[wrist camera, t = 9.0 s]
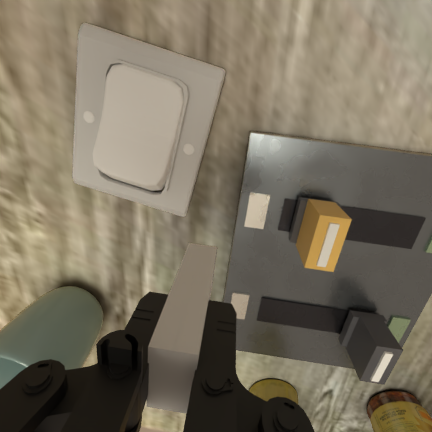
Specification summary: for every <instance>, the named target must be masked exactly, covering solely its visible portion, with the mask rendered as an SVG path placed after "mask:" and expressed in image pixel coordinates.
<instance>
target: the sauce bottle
mask: <svg viewBox="0 0 432 432" xmlns="http://www.w3.org/2000/svg"><path fill="white" fill-rule="evenodd" d="M367 413H368V416H369V418H370V421H371V424H372V428H373V430H374V432H432V419H431V417H430V415H429V414H428V412H427V411H426V410H425V409H424V408H423V407H422V405H421V404H420V402H419V401H418V400H417V399H416V398H415V397H414V396H413V395H411V394H410V393H408V392H405V391H404V392H400V391H386V392H382V393H380V394H377V395H375V396H374V397H373V398H371V400H370V402H369V404H368V409H367Z"/></svg>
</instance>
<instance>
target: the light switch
mask: <svg viewBox="0 0 432 432" xmlns="http://www.w3.org/2000/svg"><path fill="white" fill-rule="evenodd" d="M224 78H225V70H224V69H223V68H220V67H217V66H214V65H211V64H208V63H205V62H202V61H199V60H196V59H193V58H190V57H187V56H184V55H181V54H178V53H175V52H173V51H170V50H167V49H164V48H161V47H158V46H155V45H152V44H149V43H146V42H143V41H140V40H137V39H134V38H131V37H128V36H125V35H122V34H119V33H116V32H113V31H110V30H107V29H104V28H101V27H98V26H95V25H92V24H89V23H82V25H81V27H80V30H79V33H78V48H77V73H76V97H75V122H74V146H73V171H72V178H73V180H74V182H75V183H76V184H79V185H82V186H85V187H88V188H92V189H95V190H98V191H101V192H104V193H108V194H111V195H114V196H117V197H120V198H124V199H127V200H130V201H133V202H136V203H140V204H143V205H146V206H149V207H153V208H156V209H159V210H162V211H165V212H169V213H172V214H175V215H178V216H181V217H185V216H186V214H187V211H188V207H189V204H190V200H191V197H192V193H193V189H194V186H195V182H196V179H197V175H198V172H199V168H200V164H201V161H202V157H203V154H204V150H205V147H206V143H207V139H208V136H209V132H210V129H211V125H212V121H213V118H214V114H215V111H216V107H217V103H218V100H219V96H220V93H221V89H222V85H223V82H224ZM107 175H108V176H107ZM110 177H111V178H110ZM112 178H113V179H112ZM164 186H165V189H164V190H163V192H154V191H155V190H162V189H163V187H164Z"/></svg>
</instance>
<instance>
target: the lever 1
mask: <svg viewBox="0 0 432 432" xmlns="http://www.w3.org/2000/svg"><path fill="white" fill-rule="evenodd" d="M351 221H352V219H351V218H350V217H349V216H348V215H347V214H346V213H345V212H344V211H343V210H342V209H341V205H340V204H339V203H338V202H333V201H325V200H318V199H311V198H303V197H299V198H298V202H297V206H296V210H295V214H294V217H293V221H292V225H291V229H290V233H289V237H288V238H289V241H290V242H292V243H296V247H297V250H298V252H299V255H300V258H301V260H302V263H303V265H304V268H309V269H316V270H323V271H330V272H334V269H335V266H336V263H337V261H338V258H339V255H340V252H341V249H342V246H343V243H344V241H345V238H346V235H347V232H348V229H349V226H350V223H351Z"/></svg>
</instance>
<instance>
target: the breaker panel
mask: <svg viewBox="0 0 432 432" xmlns="http://www.w3.org/2000/svg"><path fill="white" fill-rule="evenodd" d="M299 197H303V198H311V199H318V200H325V201H333V202H338V203H339V204H340V205H341V209H342V210H343V211H344V212H345V213H346V214H347V215H348V216H349V217H350V218H351V219H352V221H351V223H350V226H349V229H348V232H347V235H346V238H345V241H344V243H343V246H342V249H341V252H340V255H339V258H338V261H337V263H336V266H335V269H334V272H330V271H323V270H316V269H309V268H304V265H303V263H302V260H301V258H300V255H299V252H298V250H297V247H296V243H292V242H290V241H289V238H288V237H289V233H290V229H291V225H292V221H293V217H294V214H295V210H296V206H297V202H298V198H299ZM431 294H432V154H428V153H420V152H412V151H405V150H397V149H389V148H381V147H374V146H366V145H358V144H351V143H343V142H335V141H327V140H320V139H312V138H304V137H296V136H289V135H281V134H273V133H266V132H258V131H250V134H249V140H248V146H247V153H246V159H245V165H244V171H243V178H242V184H241V190H240V197H239V203H238V209H237V215H236V222H235V228H234V234H233V240H232V247H231V253H230V259H229V265H228V272H227V278H226V284H225V291H224V297H223V302H224V303H230V304H232V305H233V307H234V309H235V311H236V313H237V320H236V350H239V351H245V352H251V353H258V354H264V355H270V356H277V357H283V358H289V359H295V360H302V361H308V362H314V363H321V364H327V365H333V366H339V367H346V368H352V369H355V368H354V366H353V363H352V361H351V359H350V357H349V354H348V352H347V350H346V346H341V344H340V342H339V339H338V338H339V336H340V333H341V331H342V329H343V326H344V324H345V321H346V319H347V316H348V314H349V311H350V310H352V311H359V312H365V313H372V314H378V315H383V316H384V317H385V319H386V320H387V324H386V325H387V326H388V328H389V329H390V331H391V333H392V334H393V336H394V337H395V339H396V340H397V342H398V343H399V345H400V346H401V348H402V347H403V345H404V343H405V341H406V339H407V338H408V336H409V334H410V332H411V330H412V328H413V327H414V325H415V323H416V321H417V319H418V317H419V316H420V314H421V312H422V310H423V308H424V307H425V305H426V303H427V301H428V299H429V297H430V296H431Z"/></svg>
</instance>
